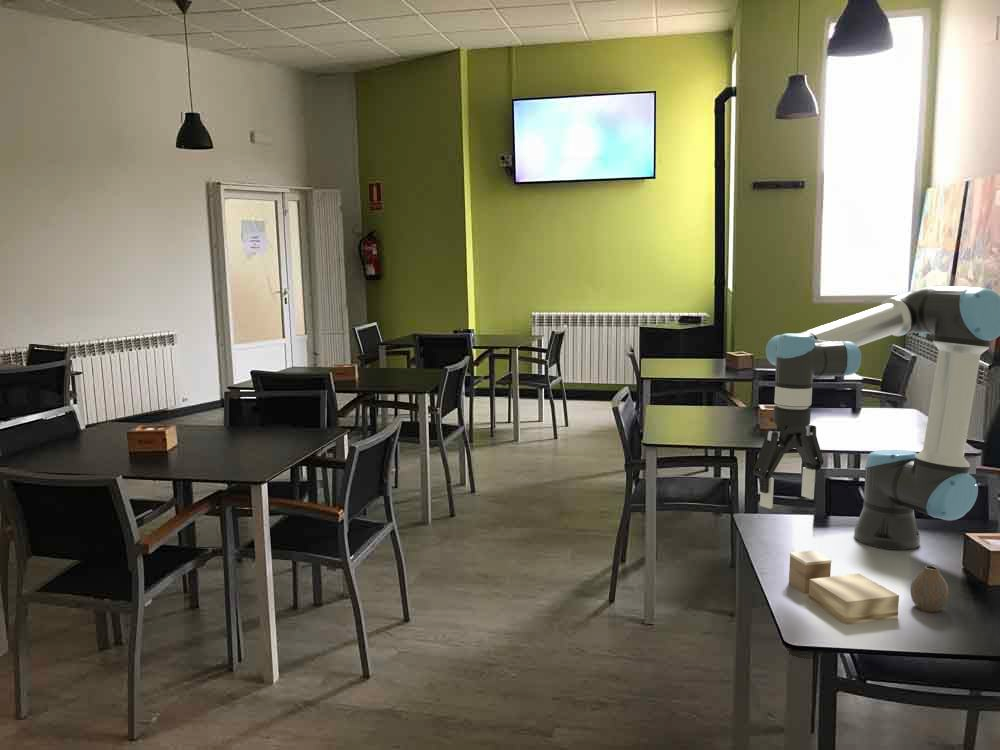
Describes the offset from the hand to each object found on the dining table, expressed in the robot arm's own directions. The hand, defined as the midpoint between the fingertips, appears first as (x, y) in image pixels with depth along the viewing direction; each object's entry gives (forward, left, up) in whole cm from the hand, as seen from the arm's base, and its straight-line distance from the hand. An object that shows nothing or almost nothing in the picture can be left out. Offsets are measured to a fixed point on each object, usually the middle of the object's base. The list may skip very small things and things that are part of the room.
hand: (787, 502), depth 181 cm
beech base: (-6, +15, -19) cm, 25 cm away
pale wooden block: (-4, +3, -19) cm, 19 cm away
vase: (-22, +19, -19) cm, 34 cm away
